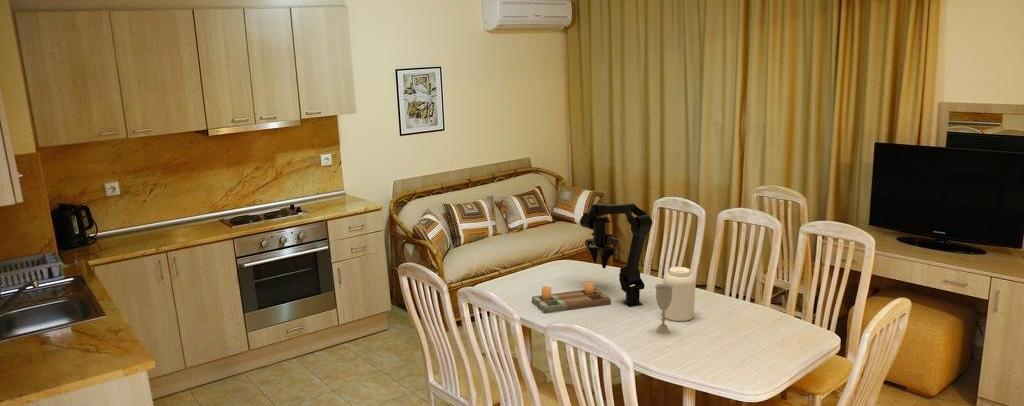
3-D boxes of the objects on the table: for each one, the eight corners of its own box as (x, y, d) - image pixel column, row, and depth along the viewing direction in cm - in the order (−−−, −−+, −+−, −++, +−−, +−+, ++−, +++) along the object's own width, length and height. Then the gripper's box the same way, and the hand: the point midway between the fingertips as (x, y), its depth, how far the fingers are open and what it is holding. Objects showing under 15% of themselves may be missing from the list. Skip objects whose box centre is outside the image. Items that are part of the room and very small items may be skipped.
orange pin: (595, 298, 325) (595, 283, 323) (586, 300, 324) (587, 284, 322) (591, 296, 329) (591, 280, 327) (583, 297, 327) (583, 281, 326)
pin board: (610, 304, 318) (610, 298, 317) (544, 313, 308) (544, 307, 308) (595, 293, 332) (595, 288, 331) (532, 302, 322) (532, 296, 322)
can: (694, 322, 296) (696, 274, 292) (662, 320, 298) (663, 272, 294) (693, 311, 308) (695, 265, 303) (662, 310, 310) (663, 263, 306)
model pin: (552, 304, 319) (552, 288, 317) (543, 305, 317) (543, 290, 316) (549, 301, 322) (549, 286, 321) (540, 302, 321) (540, 287, 320)
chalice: (659, 326, 292) (660, 282, 288) (675, 330, 288) (676, 285, 284) (650, 332, 287) (651, 287, 283) (666, 336, 282) (667, 290, 279)
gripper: (626, 234, 323) (625, 269, 326) (607, 225, 340) (606, 258, 344) (602, 236, 319) (602, 272, 323) (584, 227, 337) (584, 260, 340)
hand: (599, 265), depth 332 cm, fingers open, 9 cm apart
